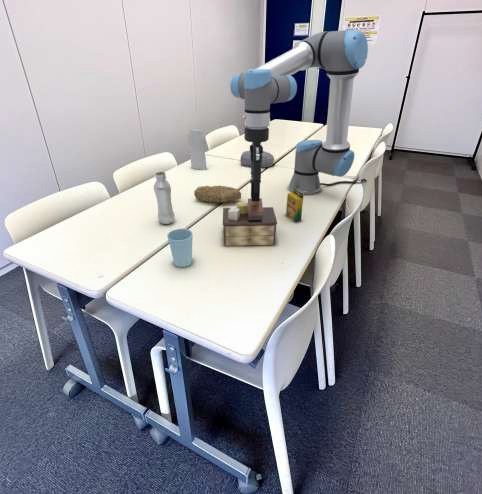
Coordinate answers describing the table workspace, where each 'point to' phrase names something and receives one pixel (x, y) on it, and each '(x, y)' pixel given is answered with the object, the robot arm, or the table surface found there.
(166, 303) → the table surface
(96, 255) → the table surface
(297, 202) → the crayon box
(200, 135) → the tall pale column
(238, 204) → the paper ball yellow
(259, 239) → the cabinet
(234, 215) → the white faceted lump
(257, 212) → the brush
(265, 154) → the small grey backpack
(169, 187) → the plastic bottle
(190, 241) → the cup
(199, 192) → the sponge
